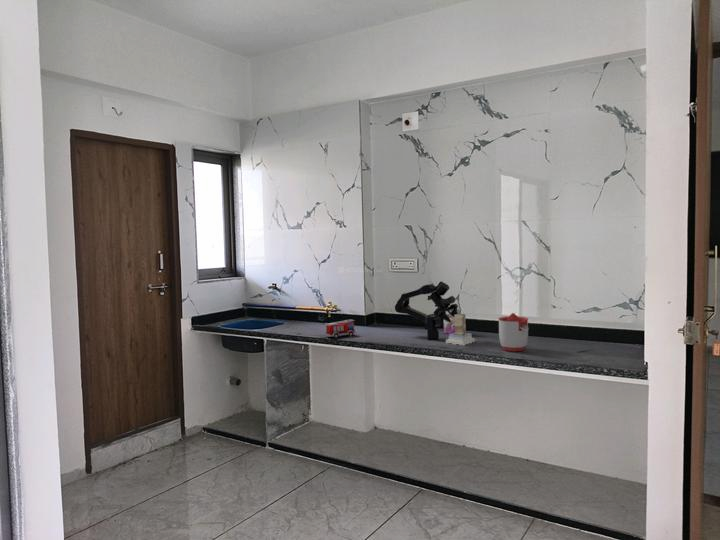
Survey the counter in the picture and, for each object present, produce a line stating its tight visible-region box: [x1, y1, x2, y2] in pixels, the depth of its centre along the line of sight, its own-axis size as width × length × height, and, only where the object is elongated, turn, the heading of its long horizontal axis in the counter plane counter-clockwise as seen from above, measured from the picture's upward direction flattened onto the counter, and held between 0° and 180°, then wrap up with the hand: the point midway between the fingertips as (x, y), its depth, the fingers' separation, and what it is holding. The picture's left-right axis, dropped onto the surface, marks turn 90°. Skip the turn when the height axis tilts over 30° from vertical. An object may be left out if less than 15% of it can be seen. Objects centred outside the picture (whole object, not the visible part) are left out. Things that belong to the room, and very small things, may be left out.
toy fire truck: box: [325, 318, 357, 339], centre depth 353 cm, size 9×19×10 cm, turn 117°
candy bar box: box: [443, 308, 462, 335], centre depth 348 cm, size 11×5×16 cm, turn 35°
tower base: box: [445, 332, 476, 346], centre depth 321 cm, size 12×12×5 cm
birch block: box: [454, 313, 467, 336], centre depth 321 cm, size 4×4×12 cm
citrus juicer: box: [498, 312, 529, 353], centre depth 297 cm, size 16×17×20 cm
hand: (454, 320), depth 323 cm, fingers open, 9 cm apart
